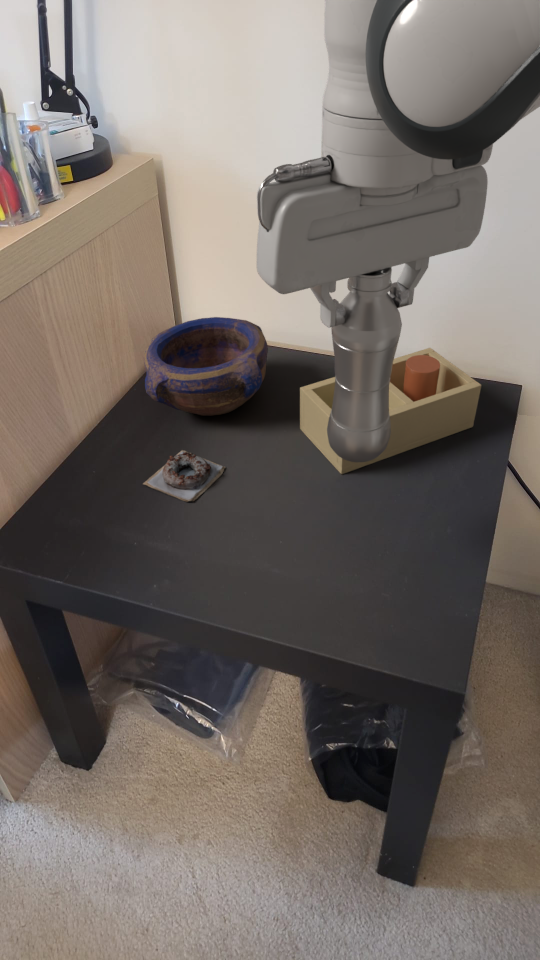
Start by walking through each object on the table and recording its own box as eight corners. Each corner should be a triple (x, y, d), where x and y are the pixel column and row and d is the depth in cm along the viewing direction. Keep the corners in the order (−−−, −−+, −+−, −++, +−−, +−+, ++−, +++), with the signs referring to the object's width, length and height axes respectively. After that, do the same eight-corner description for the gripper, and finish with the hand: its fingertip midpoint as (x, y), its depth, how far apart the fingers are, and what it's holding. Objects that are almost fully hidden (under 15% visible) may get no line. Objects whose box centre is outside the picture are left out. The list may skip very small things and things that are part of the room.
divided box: (473, 426, 96) (481, 384, 92) (341, 474, 89) (343, 431, 85) (424, 387, 104) (430, 347, 100) (299, 428, 97) (299, 387, 93)
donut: (190, 505, 86) (188, 493, 85) (143, 484, 89) (140, 472, 88) (228, 468, 91) (227, 456, 90) (182, 450, 94) (180, 438, 93)
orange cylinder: (439, 415, 97) (447, 366, 92) (412, 425, 96) (419, 376, 90) (420, 399, 100) (426, 351, 95) (394, 408, 99) (399, 360, 93)
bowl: (160, 367, 111) (151, 310, 104) (271, 366, 110) (269, 309, 104) (141, 434, 97) (129, 374, 91) (267, 434, 97) (264, 373, 90)
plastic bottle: (394, 436, 73) (415, 254, 60) (381, 476, 68) (401, 288, 55) (335, 426, 74) (343, 247, 61) (318, 464, 70) (323, 279, 57)
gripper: (277, 182, 46) (280, 359, 55) (511, 136, 53) (479, 301, 62) (237, 158, 51) (246, 326, 60) (458, 118, 57) (436, 275, 66)
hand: (367, 313), depth 61 cm, fingers closed on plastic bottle, 6 cm apart
